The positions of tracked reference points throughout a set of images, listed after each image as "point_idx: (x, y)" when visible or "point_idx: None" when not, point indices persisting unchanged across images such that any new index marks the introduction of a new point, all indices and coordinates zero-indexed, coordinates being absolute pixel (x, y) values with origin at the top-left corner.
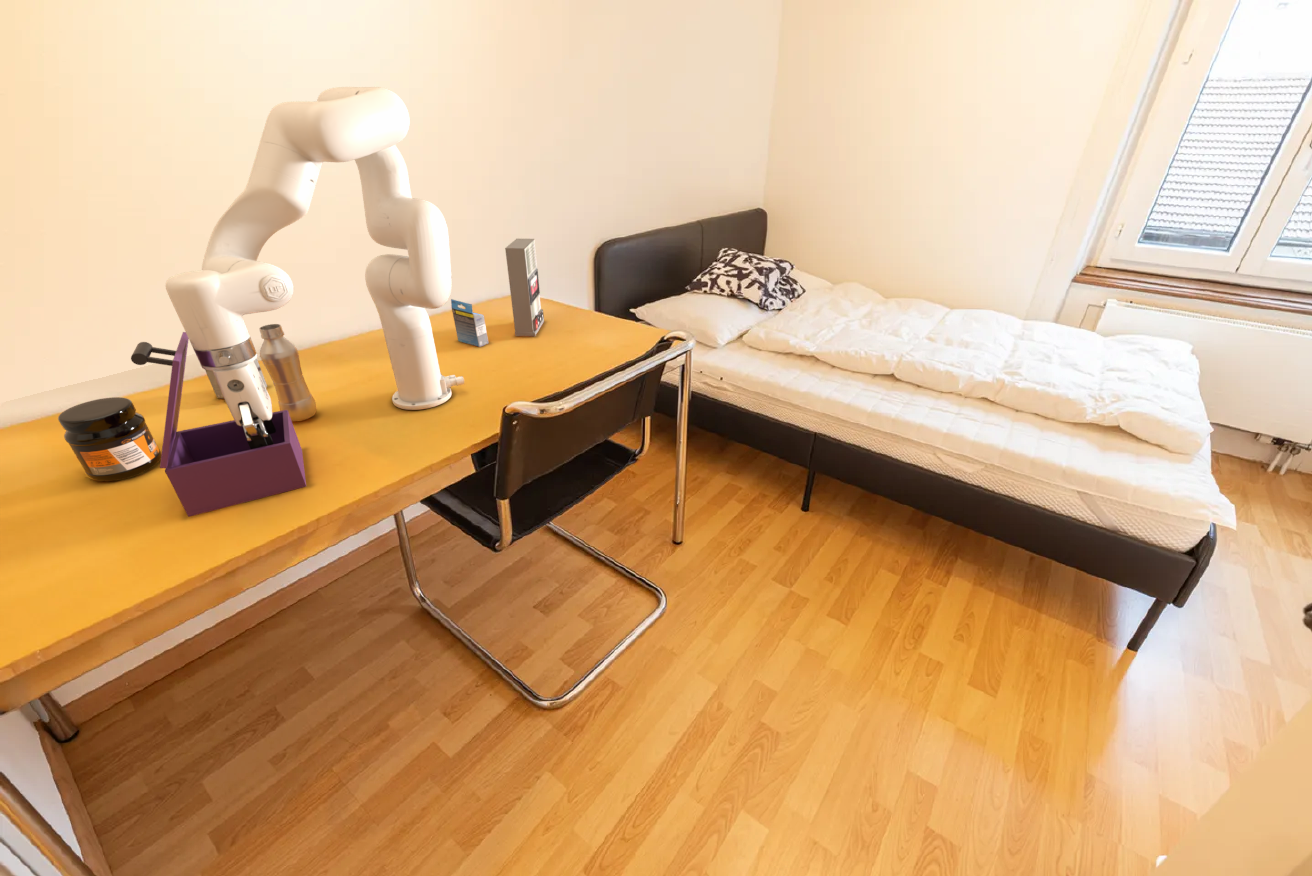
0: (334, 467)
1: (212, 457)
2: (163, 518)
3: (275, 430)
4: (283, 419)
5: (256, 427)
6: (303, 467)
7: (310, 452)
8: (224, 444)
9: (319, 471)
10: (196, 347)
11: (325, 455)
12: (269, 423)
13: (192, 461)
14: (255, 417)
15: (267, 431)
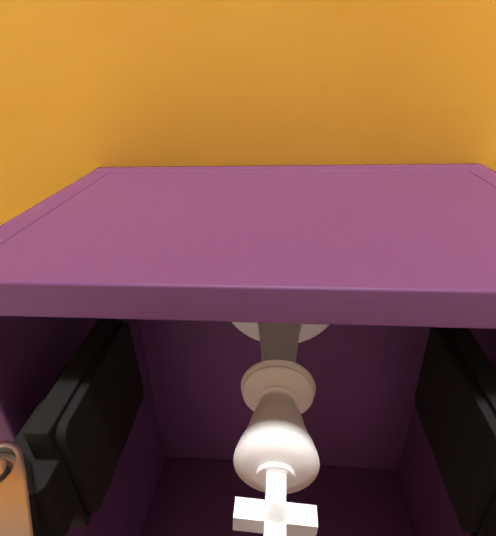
0: (371, 10)
1: (145, 460)
2: None
3: (114, 321)
4: (124, 317)
5: (267, 490)
6: (310, 168)
7: (134, 130)
8: (120, 465)
9: (366, 96)
10: None
11: (200, 55)
12: (100, 378)
13: (171, 507)
14: (85, 488)
15: (126, 360)
